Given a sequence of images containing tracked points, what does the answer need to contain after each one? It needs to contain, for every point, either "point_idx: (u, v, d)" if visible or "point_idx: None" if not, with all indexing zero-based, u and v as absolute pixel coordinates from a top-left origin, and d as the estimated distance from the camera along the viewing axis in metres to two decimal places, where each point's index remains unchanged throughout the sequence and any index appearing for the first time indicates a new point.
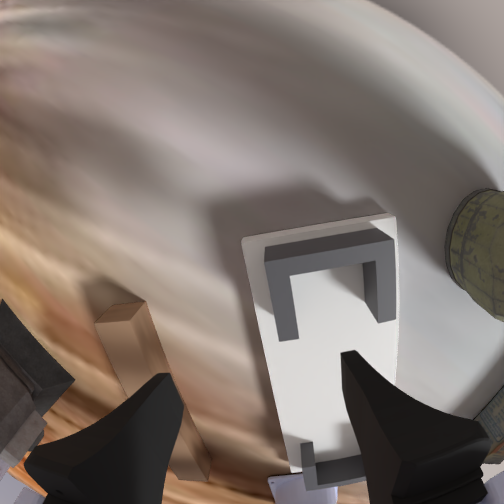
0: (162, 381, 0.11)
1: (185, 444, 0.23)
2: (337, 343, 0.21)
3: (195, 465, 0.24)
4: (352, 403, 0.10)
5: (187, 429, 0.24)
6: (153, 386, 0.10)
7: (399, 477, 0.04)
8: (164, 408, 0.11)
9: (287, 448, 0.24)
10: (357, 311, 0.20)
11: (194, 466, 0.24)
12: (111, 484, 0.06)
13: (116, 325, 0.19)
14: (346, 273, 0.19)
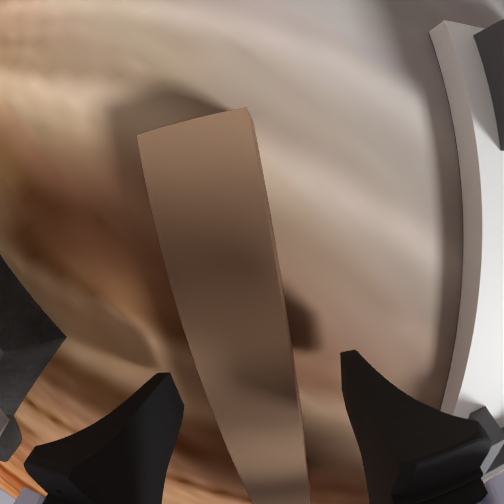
0: (162, 381, 0.11)
1: (301, 453, 0.11)
2: None
3: (304, 487, 0.12)
4: (352, 403, 0.10)
5: (301, 421, 0.12)
6: (153, 386, 0.10)
7: (399, 477, 0.04)
8: (164, 408, 0.11)
9: None
10: None
11: (301, 490, 0.12)
12: (111, 484, 0.06)
13: (202, 127, 0.08)
14: None
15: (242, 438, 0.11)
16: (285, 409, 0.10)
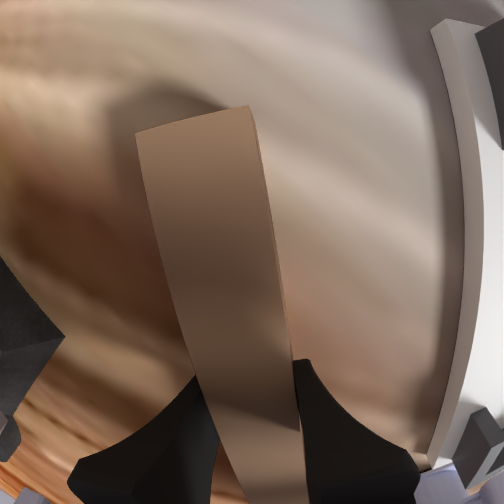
0: None
1: (300, 457, 0.11)
2: None
3: (303, 491, 0.12)
4: None
5: (300, 425, 0.12)
6: (199, 385, 0.10)
7: (310, 496, 0.05)
8: None
9: (451, 427, 0.12)
10: None
11: (299, 493, 0.12)
12: (170, 494, 0.06)
13: (203, 125, 0.07)
14: None
15: (241, 442, 0.11)
16: (284, 413, 0.10)
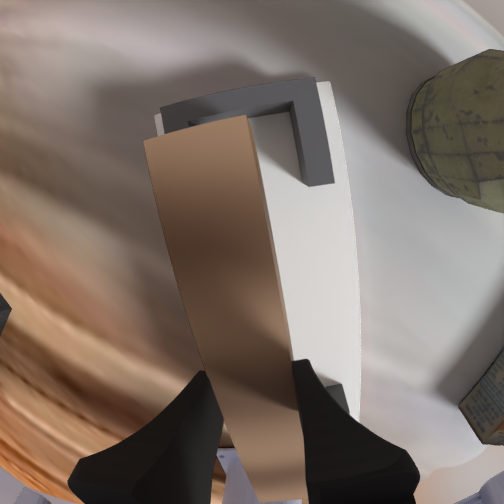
0: (207, 379, 0.11)
1: (300, 439, 0.12)
2: None
3: (304, 474, 0.13)
4: (299, 412, 0.10)
5: None
6: (199, 385, 0.10)
7: (310, 496, 0.05)
8: (210, 407, 0.10)
9: None
10: (293, 195, 0.16)
11: (300, 477, 0.13)
12: (170, 494, 0.06)
13: (205, 133, 0.08)
14: (274, 144, 0.16)
15: (244, 425, 0.12)
16: (284, 396, 0.11)
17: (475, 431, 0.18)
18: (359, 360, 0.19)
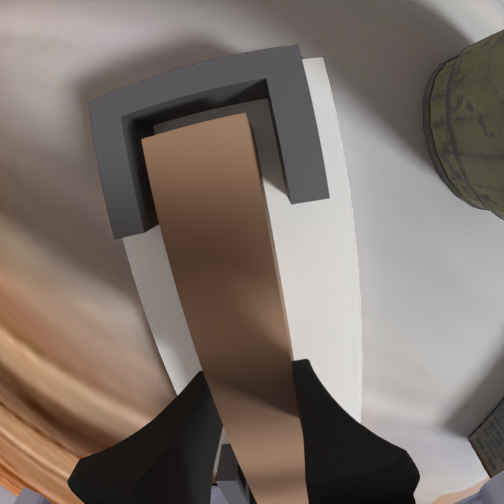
0: None
1: (301, 445, 0.11)
2: None
3: (304, 480, 0.12)
4: (299, 412, 0.10)
5: None
6: (200, 385, 0.10)
7: (310, 496, 0.05)
8: (210, 407, 0.10)
9: None
10: (274, 211, 0.12)
11: (301, 483, 0.12)
12: (170, 494, 0.06)
13: (204, 132, 0.08)
14: None
15: (244, 431, 0.11)
16: (284, 401, 0.11)
17: (485, 467, 0.14)
18: (359, 408, 0.15)
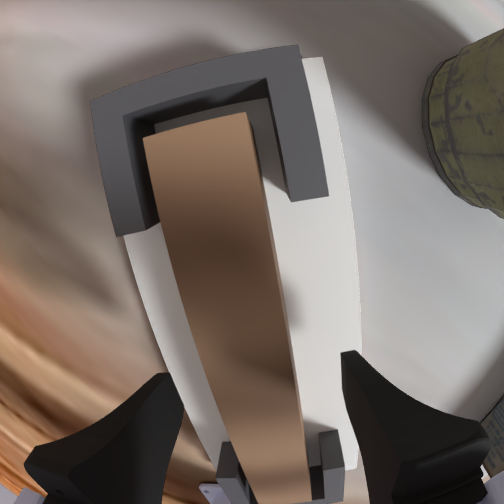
0: (162, 381, 0.11)
1: (301, 442, 0.12)
2: None
3: (304, 477, 0.13)
4: (352, 403, 0.10)
5: (300, 411, 0.13)
6: (153, 386, 0.10)
7: (399, 477, 0.04)
8: (164, 408, 0.11)
9: (205, 447, 0.17)
10: (274, 210, 0.12)
11: (301, 480, 0.13)
12: (111, 484, 0.06)
13: (205, 130, 0.08)
14: None
15: (244, 427, 0.11)
16: (284, 397, 0.11)
17: (485, 466, 0.14)
18: None
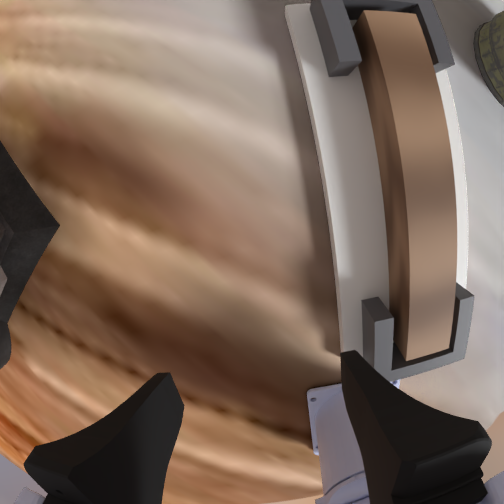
0: (162, 381, 0.11)
1: (455, 246, 0.14)
2: None
3: (451, 303, 0.15)
4: (352, 403, 0.10)
5: None
6: (153, 386, 0.10)
7: (399, 477, 0.04)
8: (164, 408, 0.11)
9: (343, 311, 0.19)
10: None
11: (448, 308, 0.15)
12: (111, 484, 0.06)
13: (398, 16, 0.11)
14: None
15: (421, 225, 0.14)
16: (448, 190, 0.13)
17: None
18: (467, 251, 0.18)
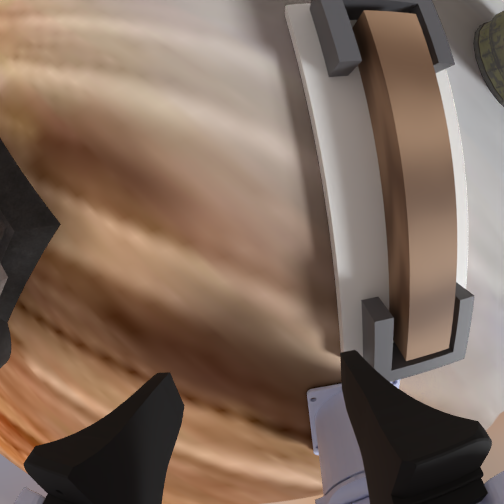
0: (162, 381, 0.11)
1: (455, 246, 0.14)
2: None
3: (451, 303, 0.15)
4: (352, 403, 0.10)
5: None
6: (153, 386, 0.10)
7: (399, 477, 0.04)
8: (164, 408, 0.11)
9: (343, 311, 0.19)
10: None
11: (448, 308, 0.15)
12: (111, 484, 0.06)
13: (398, 16, 0.11)
14: None
15: (421, 225, 0.14)
16: (448, 190, 0.13)
17: None
18: (467, 251, 0.18)
